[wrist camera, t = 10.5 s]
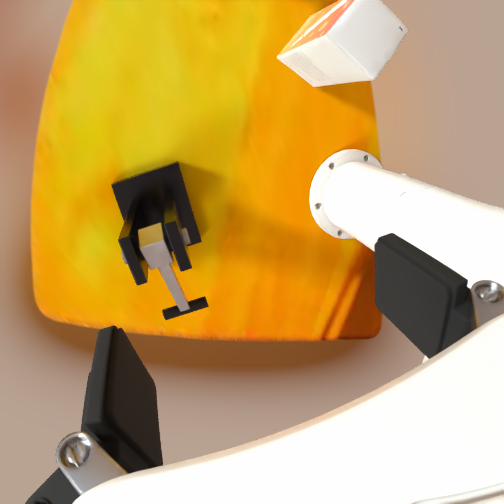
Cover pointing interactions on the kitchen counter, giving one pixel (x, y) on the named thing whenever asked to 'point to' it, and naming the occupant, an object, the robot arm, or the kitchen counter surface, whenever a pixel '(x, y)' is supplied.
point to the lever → (166, 269)
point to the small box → (344, 43)
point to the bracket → (155, 215)
